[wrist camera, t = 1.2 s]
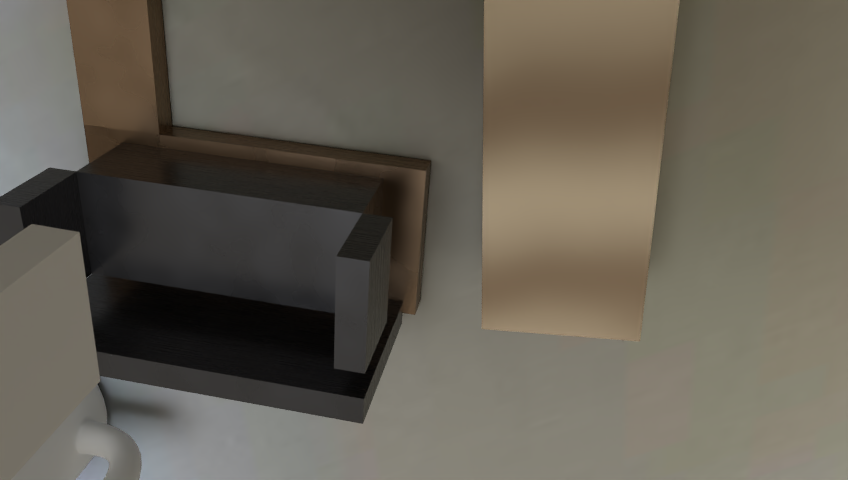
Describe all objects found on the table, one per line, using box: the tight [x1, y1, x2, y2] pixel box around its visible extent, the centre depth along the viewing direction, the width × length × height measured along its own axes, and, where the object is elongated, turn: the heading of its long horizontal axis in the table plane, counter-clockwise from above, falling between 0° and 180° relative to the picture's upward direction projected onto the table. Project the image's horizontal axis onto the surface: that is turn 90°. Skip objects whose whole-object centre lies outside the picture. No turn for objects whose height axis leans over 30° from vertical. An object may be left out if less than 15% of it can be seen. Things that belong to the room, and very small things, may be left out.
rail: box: [482, 0, 680, 341], centre depth 23 cm, size 16×5×5 cm, turn 2°
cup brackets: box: [0, 0, 431, 424], centre depth 24 cm, size 22×13×7 cm, turn 176°
